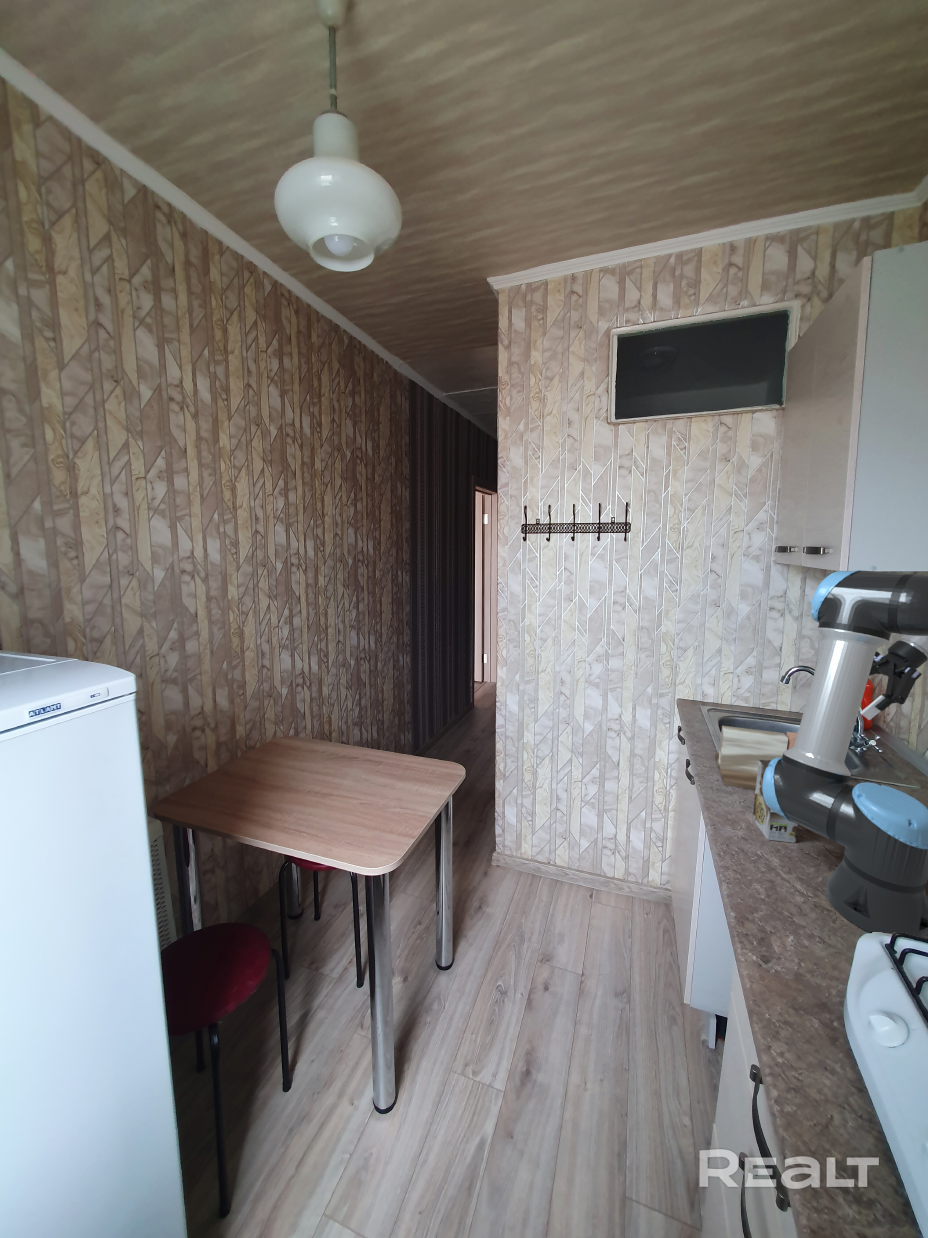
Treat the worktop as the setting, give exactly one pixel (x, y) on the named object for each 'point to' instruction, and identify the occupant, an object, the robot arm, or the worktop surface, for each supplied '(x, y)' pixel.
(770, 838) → the coffee box
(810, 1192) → the worktop surface
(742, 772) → the beige and brown block
